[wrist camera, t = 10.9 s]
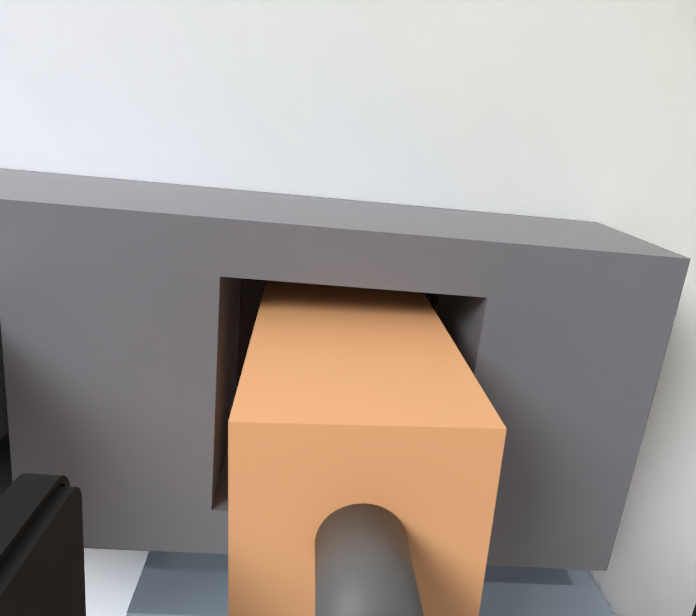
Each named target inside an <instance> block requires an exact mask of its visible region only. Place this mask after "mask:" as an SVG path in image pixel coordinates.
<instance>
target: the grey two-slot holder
mask: <svg viewBox="0 0 696 616" xmlns="http://www.w3.org/2000/svg"><path fill="white" fill-rule="evenodd" d="M689 262H690V258H687V257H685V256H682V255H680V254H677V253H674V252H672V251H669V250H667V249H664V248H662V247H659V246H656V245H654V244H651V243H649V242H646V241H644V240H641V239H638V238H636V237H633V236H631V235H628V234H626V233H623V232H621V231H618V230H615V229H613V228H610V227H608V226H605V225H603V224H600V223H597V222H588V221H577V220H565V219H554V218H543V217H532V216H521V215H510V214H499V213H488V212H477V211H466V210H455V209H444V208H433V207H422V206H411V205H400V204H389V203H377V202H366V201H355V200H344V199H333V198H322V197H311V196H300V195H289V194H278V193H267V192H256V191H245V190H234V189H223V188H212V187H200V186H189V185H178V184H167V183H156V182H145V181H134V180H123V179H112V178H101V177H90V176H79V175H68V174H57V173H46V172H35V171H23V170H12V169H1V168H0V321H1V334H2V347H3V361H4V374H5V387H6V401H7V414H8V427H9V432H8V433H7V434H6V435H5V436H4V437H3V438H2V439H1V440H0V497H1V496H2V494H3V493H4V492H5V491H6V490H7V489H8V487H9V486H10V485H11V484H12V483H13V482H14V481H15V479H16V478H17V477H18V476H20V475H21V474H23V473H34V474H49V475H64V476H66V477H67V478H68V480H69V482H70V487H78V488H80V490H81V493H82V514H83V545H84V548H95V549H118V550H142V551H165V552H188V553H212V554H228V421H229V417H230V413H231V410H232V406H233V402H234V398H235V395H236V383H237V361H238V340H239V319H240V297H241V278H244V279H257V280H270V281H282V282H295V283H308V284H320V285H333V286H346V287H358V288H371V289H384V290H396V291H409V292H422V293H434V294H438V297H437V304H436V311H435V312H436V314H437V315H438V317H439V319H440V320H441V322H442V324H443V325H444V327H445V328H446V330H447V332H448V333H449V335H450V337H451V338H452V340H453V342H454V343H455V345H456V346H457V348H458V350H459V351H460V353H461V355H462V356H463V358H464V360H465V361H466V363H467V365H468V366H469V368H470V369H471V371H472V373H473V374H474V376H475V378H476V379H477V381H478V383H479V384H480V386H481V387H482V389H483V391H484V392H485V394H486V396H487V397H488V399H489V401H490V402H491V404H492V405H493V407H494V409H495V410H496V412H497V414H498V415H499V417H500V419H501V420H502V422H503V424H504V425H505V427H506V428H507V430H506V437H505V443H504V450H503V457H502V463H501V470H500V477H499V483H498V490H497V497H496V503H495V510H494V517H493V523H492V530H491V536H490V543H489V550H488V556H487V563H486V565H491V566H515V567H538V568H561V569H585V570H607V568H608V564H609V560H610V556H611V553H612V549H613V545H614V542H615V538H616V534H617V530H618V527H619V523H620V519H621V516H622V512H623V508H624V504H625V501H626V497H627V493H628V489H629V486H630V482H631V478H632V475H633V471H634V467H635V463H636V460H637V456H638V452H639V449H640V445H641V441H642V437H643V434H644V430H645V426H646V422H647V419H648V415H649V411H650V408H651V404H652V400H653V396H654V393H655V389H656V385H657V381H658V378H659V374H660V370H661V367H662V363H663V359H664V355H665V352H666V348H667V344H668V341H669V337H670V333H671V329H672V326H673V322H674V318H675V314H676V311H677V307H678V303H679V300H680V296H681V292H682V288H683V285H684V281H685V277H686V274H687V270H688V266H689Z"/></svg>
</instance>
